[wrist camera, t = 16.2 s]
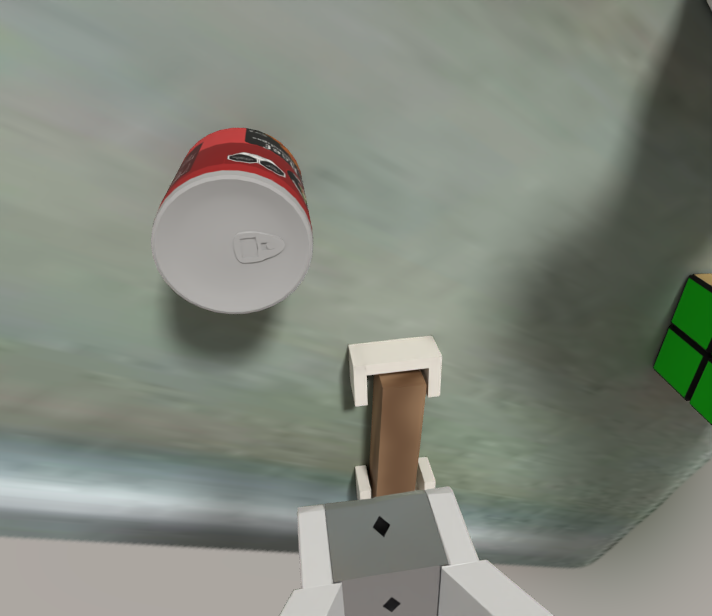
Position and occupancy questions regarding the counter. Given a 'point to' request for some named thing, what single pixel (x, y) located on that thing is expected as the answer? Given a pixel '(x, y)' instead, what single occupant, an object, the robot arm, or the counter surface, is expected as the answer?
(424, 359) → the cap
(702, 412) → the puzzle cube
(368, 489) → the cap
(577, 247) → the counter surface
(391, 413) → the slat
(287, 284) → the canned food
